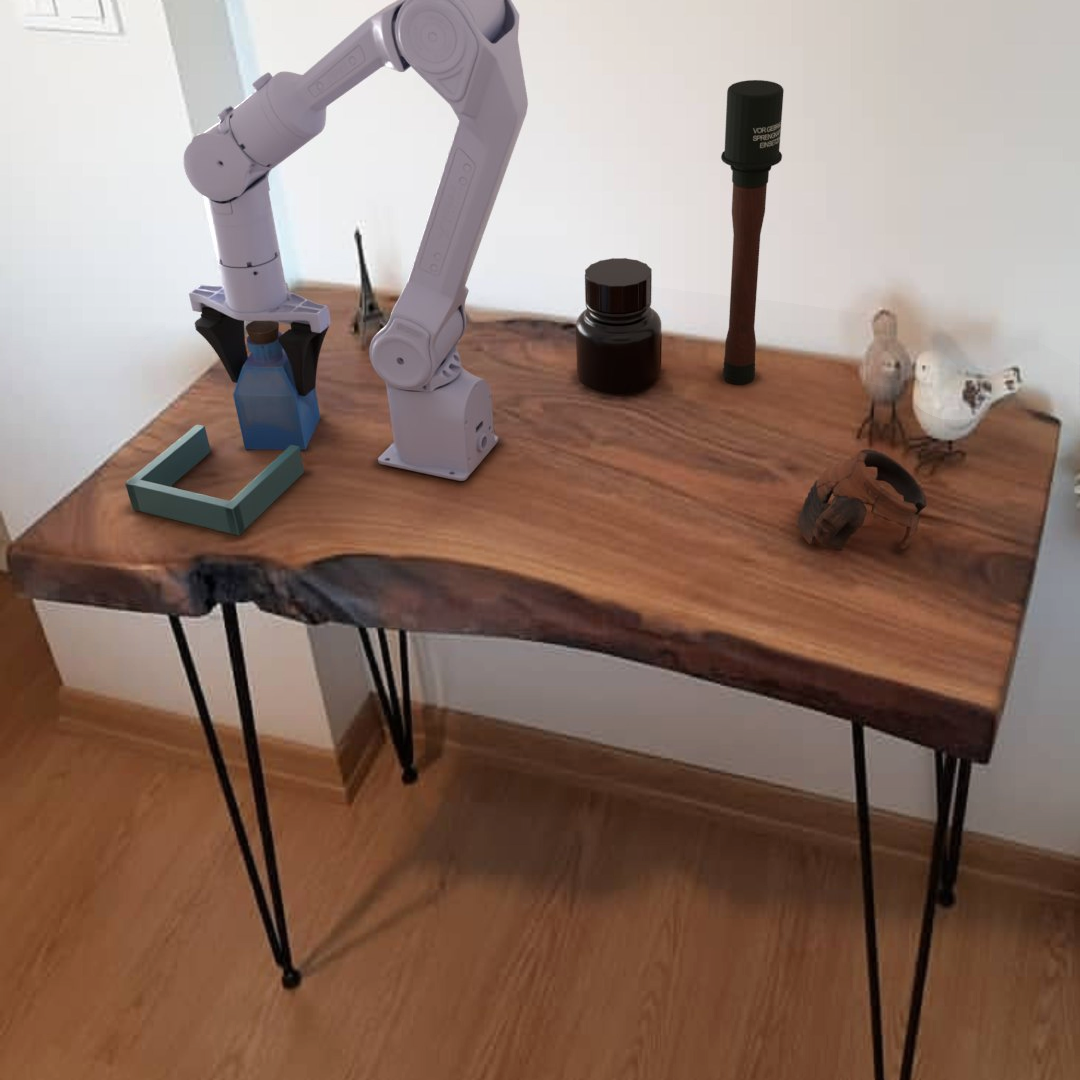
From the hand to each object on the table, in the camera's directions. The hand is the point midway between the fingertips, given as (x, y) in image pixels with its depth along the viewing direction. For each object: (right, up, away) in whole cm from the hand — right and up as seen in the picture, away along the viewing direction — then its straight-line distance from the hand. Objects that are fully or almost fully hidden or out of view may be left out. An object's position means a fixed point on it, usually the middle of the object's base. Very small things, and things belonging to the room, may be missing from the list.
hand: (274, 384), depth 121 cm
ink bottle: (+35, +2, +10) cm, 36 cm away
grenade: (+47, +2, +9) cm, 48 cm away
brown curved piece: (+53, -15, -15) cm, 57 cm away
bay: (-4, -10, -4) cm, 12 cm away
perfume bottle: (0, -5, +4) cm, 6 cm away
